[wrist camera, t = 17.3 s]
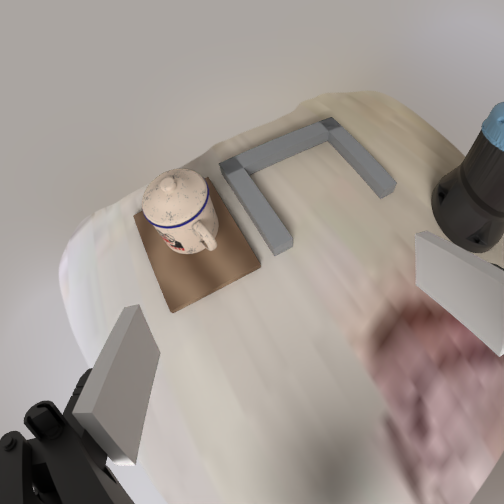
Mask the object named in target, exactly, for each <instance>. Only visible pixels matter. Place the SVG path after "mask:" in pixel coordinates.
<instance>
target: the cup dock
mask: <svg viewBox="0 0 504 504" xmlns="http://www.w3.org/2000/svg"><path fill="white" fill-rule="evenodd" d="M326 141H328V142H329V143H330V144H331V145H332V146H333V147H334V148H335V149H336V150H337V151H338V152H339V153H340V154H341V155H342V156H343V157H344V158H345V160H346V161H347V162H348V163H349V164H350V165H351V166H352V167H353V168H354V169H355V170H356V172H357V173H358V174H359V175H360V176H361V177H362V178H363V179H364V181H365V182H366V183H367V184H368V185H369V186H370V187H371V189H372V190H373V191H374V192H375V193H376V194H377V196H378V197H379V198H380V199H381V198H383V197H385V196H387V195H389V194H390V193H392V192H393V191H394V189H395V186H396V184H397V183H396V181H395V180H394V179H393V178H392V177H391V176H390V175H389V174H388V173H387V172H386V170H385V169H384V168H383V167H382V166H381V165H380V164H379V163H378V162H377V161H376V160H375V159H374V158H373V157H372V156H371V155H370V154H369V152H368V151H367V150H366V149H365V148H364V147H363V146H362V145H361V144H360V143H359V142H358V141H357V140H356V139H355V138H354V137H353V136H352V135H350V134H349V133H348V132H347V131H346V130H345V129H344V128H343V127H342V126H341V125H340V124H339V123H338V122H337V121H336V120H335V119H334V118H332V117H330V118H327V119H325V120H322V121H319V122H316V123H314V124H311V125H309V126H306V127H303V128H301V129H298V130H296V131H293V132H291V133H288V134H286V135H283V136H281V137H278V138H276V139H274V140H271V141H269V142H267V143H264V144H262V145H259V146H257V147H255V148H253V149H250V150H248V151H246V152H243V153H241V154H239V155H237V156H235V157H232V158H230V159H228V160H226V161H224V162H221V163H219V166H220V169H221V173H222V175H223V176H224V178H225V179H226V181H227V182H228V184H229V185H230V187H231V189H232V190H233V192H234V193H235V195H236V196H237V198H238V199H239V201H240V203H241V204H242V206H243V207H244V209H245V210H246V212H247V214H248V215H249V217H250V218H251V220H252V221H253V223H254V225H255V226H256V228H257V229H258V231H259V232H260V234H261V236H262V237H263V239H264V240H265V242H266V243H267V245H268V247H269V248H270V250H271V251H272V253H273V255H274V256H276V255H278V254H280V253H282V252H283V251H285V250H287V249H289V248H291V247H293V238H292V236H291V235H290V234H289V232H288V231H287V229H286V228H285V226H284V225H283V223H282V222H281V220H280V219H279V217H278V216H277V215H276V213H275V212H274V210H273V209H272V207H271V206H270V204H269V203H268V202H267V200H266V199H265V197H264V196H263V194H262V193H261V192H260V190H259V189H258V187H257V186H256V185H255V183H254V182H253V180H252V179H251V178H250V176H249V175H251V174H253V173H255V172H257V171H259V170H261V169H264V168H266V167H268V166H270V165H272V164H275V163H277V162H279V161H281V160H284V159H286V158H288V157H290V156H293V155H295V154H297V153H300V152H302V151H304V150H307V149H309V148H311V147H314V146H316V145H319V144H321V143H323V142H326Z"/></svg>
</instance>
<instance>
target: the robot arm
mask: <svg viewBox="0 0 504 504" xmlns="http://www.w3.org/2000/svg"><path fill="white" fill-rule="evenodd" d="M432 209H433V213H434V216H435V218H436V221H437V223H438V225H439V226H440V228H441V229H442V231H443V232H444V233H445V235H446V236H447V237H448V238H449V239H450V240H451V241H452V242H453V243H455V244H456V245H455V244H453V243H451V242H449V241H447V240H445V239H443V238H441V237H439V236H437V235H435V234H433V233H431V232H429V231H424V232H420V233H417V234H415V251H416V286H418V287H419V288H420V289H421V290H423V291H424V292H425V293H426V294H428V295H429V296H430V297H431V298H432V299H434V300H435V301H436V302H437V303H439V304H440V305H441V306H442V307H443V308H445V309H446V310H447V311H448V312H449V313H450V314H452V315H453V316H454V317H455V318H456V319H458V320H459V321H460V322H461V323H462V324H463V325H464V326H466V327H467V328H468V329H469V330H470V331H471V332H472V333H474V334H475V335H476V336H477V337H478V338H479V339H480V340H481V341H483V342H484V343H485V344H486V345H487V346H488V347H489V348H490V349H491V350H492V351H494V352H495V353H496V354H497V355H498V356H499V357H500V356H502V355H503V354H504V269H503V268H501V267H500V266H498V265H496V264H492V263H489V262H487V261H485V260H483V259H482V258H480V257H478V256H476V255H474V254H472V253H470V252H473V253H483V252H486V251H488V250H490V249H491V248H492V247H493V246H494V245H496V244H497V243H498V242H499V240H500V239H501V237H502V235H503V233H504V102H501V103H498V104H497V105H495V106H494V108H493V109H492V111H491V112H490V114H489V116H488V118H487V119H486V120H485V121H484V122H483V124H482V129H481V131H480V133H479V135H478V137H477V139H476V140H475V142H474V144H473V145H472V147H471V149H470V150H469V152H468V154H467V155H466V157H465V159H464V161H463V162H462V164H461V165H460V166H458V167H457V168H455V169H454V170H452V171H451V172H449V173H448V174H447V175H445V176H444V177H443V178H442V179H441V180H440V181H439V183H438V184H437V186H436V188H435V189H434V191H433V195H432ZM468 251H469V252H468ZM159 357H160V351H159V348H158V346H157V344H156V342H155V340H154V338H153V335H152V333H151V331H150V329H149V326H148V324H147V322H146V320H145V317H144V315H143V313H142V310H141V308H140V305H139V304H138V305H133V306H129V307H125V308H124V309H123V311H122V313H121V315H120V316H119V318H118V320H117V322H116V324H115V326H114V328H113V330H112V331H111V333H110V335H109V337H108V339H107V341H106V343H105V345H104V347H103V349H102V351H101V353H100V355H99V357H98V359H97V361H96V363H95V365H94V367H93V368H91V369H88V370H87V371H86V372H85V374H83V375H82V377H81V378H80V379H79V381H78V383H77V385H76V388H75V389H74V392H73V396H71V398H70V400H69V402H68V404H67V406H66V408H65V410H64V412H63V415H62V414H61V413H60V411H59V410H58V408H57V407H56V406H55V405H54V403H53V402H51V401H41V402H39V403H37V404H35V405H34V406H32V407H31V408H30V409H29V410H28V412H27V413H26V415H25V417H24V424H25V425H26V427H27V428H28V429H29V430H30V431H31V432H32V434H33V435H34V436H35V437H36V438H34V439H30V440H26V439H25V438H24V437H23V436H22V434H20V432H18V431H11V432H9V433H6V434H5V435H4V436H3V437H2V438H1V440H0V504H134V502H133V501H132V500H131V498H130V497H129V496H128V494H127V493H126V491H125V490H124V489H123V487H122V486H121V484H120V483H119V482H118V480H117V479H116V477H115V476H114V474H113V473H112V472H111V470H110V469H109V468H108V467H107V466H106V465H105V464H106V460H107V457H109V458H110V459H111V460H112V461H113V462H114V463H115V464H116V465H136V460H137V455H138V450H139V445H140V440H141V435H142V430H143V425H144V421H145V416H146V412H147V407H148V403H149V398H150V394H151V390H152V385H153V381H154V377H155V373H156V369H157V365H158V361H159ZM33 487H34V490H33Z"/></svg>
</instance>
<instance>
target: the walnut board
mask: <svg viewBox="0 0 504 504" xmlns="http://www.w3.org/2000/svg"><path fill="white" fill-rule="evenodd" d="M205 181H206V182H207V184H208V188H209V196H210V198H211V201H212V204H213V207H214V210H215V212H216V215H217V218H218V223H219V227H218V232H217V235H216V237H215V240H216V242H217V247H216V248H215V249H214V250H213V251H209V250H208V249H206V248H205V249H203V250H202V251H200V252H197V253H193V254H181V253H178V252H175V251H173V250H172V249H171V248H170V247H169V246H168V245H167V244H166V242H165V241H164V240H163V238H162V237H161V235H160V234H159V233H158V231H157V230H156V228H155V227H154V226H153V225H152V224H151V223H150V222H149V221H148V220H147V219H146V218H145V216H144V213H143V211H141V212H139V213H137V214H136V215H134V219H135V222H136V225H137V228H138V231H139V233H140V236H141V239H142V242H143V244H144V247H145V250H146V252H147V255H148V258H149V260H150V263H151V265H152V268H153V270H154V273H155V276H156V278H157V281H158V283H159V285H160V288H161V290H162V293H163V295H164V298H165V300H166V302H167V305H168V307H169V309H170V311H171V312H172V313H174V312H176V311H178V310H180V309H182V308H184V307H186V306H188V305H190V304H192V303H194V302H196V301H198V300H200V299H201V298H203V297H205V296H207V295H209V294H211V293H213V292H215V291H217V290H219V289H221V288H223V287H224V286H226V285H228V284H230V283H232V282H234V281H236V280H238V279H240V278H242V277H243V276H245V275H247V274H249V273H251V272H253V271H255V270H257V269H259V268H260V267H261V265H260V263H259V261H258V259H257V258H256V256H255V254H254V253H253V251H252V249H251V248H250V246H249V244H248V243H247V241H246V239H245V238H244V236H243V234H242V233H241V231H240V229H239V228H238V226H237V224H236V223H235V221H234V219H233V218H232V216H231V214H230V213H229V211H228V209H227V208H226V206H225V204H224V203H223V201H222V199H221V198H220V196H219V194H218V193H217V191H216V189H215V188H214V186H213V184H212V183H211V181H210V179H209V178H208V177H207V178H205Z"/></svg>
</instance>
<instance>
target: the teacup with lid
mask: <svg viewBox="0 0 504 504" xmlns="http://www.w3.org/2000/svg"><path fill="white" fill-rule="evenodd" d="M142 210H143V213H144V216H145V218H146V219H147V220H148V221H149V222H150V223H151V224H152V225H153V226H154V227H155V228H156V230H157V231H158V233H159V234H160V235H161V237H162V238H163V240H164V241H165V242H166V244H167V245H168V246H169V247H170V248H171V249H172V250H173V251H175V252H178V253H181V254H193V253H197V252H200V251H202V250H203V249H205V248H206V249H208V250H209V251H213V250H214V249H215V248H216V247H217V242H216V240H215V237H216V235H217V232H218V227H219V223H218V218H217V215H216V212H215V210H214V207H213V204H212V201H211V198H210V196H209V188H208V184H207V182H206V181H205V179H204V178H203V177H202V176H201V175H200V174H198V173H197V172H195V171H192V170H189V169H173V170H170V171H167V172H165V173H162V174H161V175H159V176H158V177H156V178H155V179H154V180H153V181H152V182H151V183H150V184H149V185H148V187H147V188H146V190H145V192H144V195H143V199H142Z"/></svg>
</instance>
